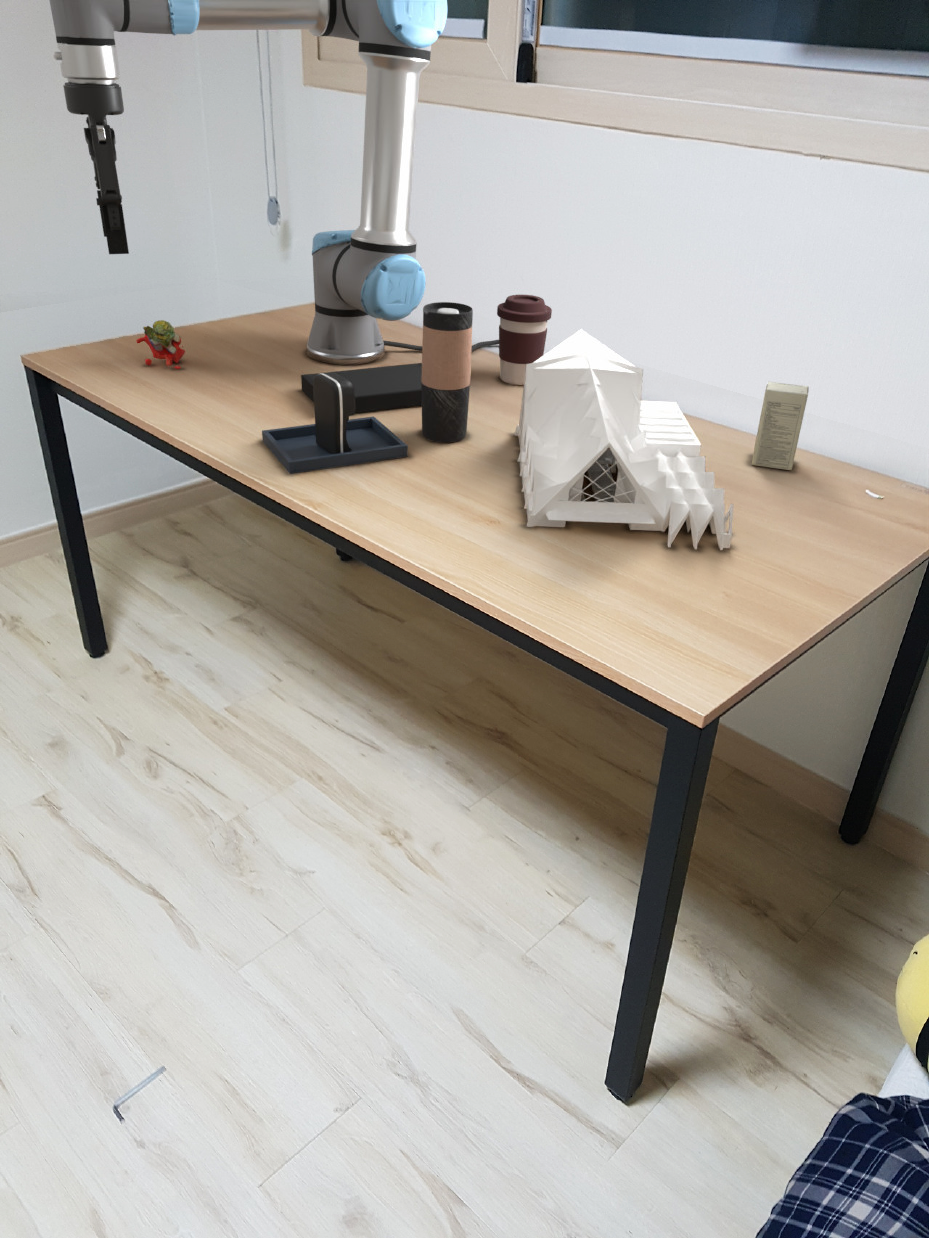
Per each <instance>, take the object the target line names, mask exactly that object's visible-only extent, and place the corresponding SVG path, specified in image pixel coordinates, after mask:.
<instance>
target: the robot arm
mask: <svg viewBox="0 0 929 1238" xmlns="http://www.w3.org/2000/svg"><path fill="white" fill-rule="evenodd" d="M49 5H50V11H51V12H50V13H51V16H52V22H53V28H54V33H55V40H56V43H57V44H56V45H57V49H58V50H59V51H54V52H53V59H55V61H61V62H60V63H59V65H60V70H61V76H62V77H63V78H65V79H67V82H64V85H63V91H64V92H63V93H64V99H65V104H66V109H67V111H68V112H69V113H70V114H73V115H81V116H82V115H83V116H85V115H87V116H86V118H85V123H86V124H87V127H83V133H84V140H85V142H86V144H87V149H88V153H89V154H88V155H89V156H90V160H91V161H92V163H93V171H94V178H93V179H94V181H95V187H96V189H97V190H96V193H97V197H96V205H97V206H99V212H100V218H101V225H102V233H103V237H104V238H106V243H107V249H108V255H128V254H129V255H130V252H129V251H130V250H129V245H128V238H127V237H128V236H127V231H126V223H125V217H124V216H125V215H124V209H123V204H122V201H123V196H122V194H121V188H120V183H119V178H118V170H117V165H116V162H117V159H118V158H117V150H116V143H117V141H116V134H115V129H114V128H113V127H111V126H110V124H108V121H107V116H119V115H123V114H124V112H125V108H124V99H123V92H122V87H121V86H120V84H118V83H117V80H119V79H120V78H121V74H120V66H119V60H118V52H117V46H116V40H115V32H118V33H139V34H140V33H141V34H155V35H156V34H157V35H158V34H159V35H172V36H174V37H175V36H177V35H191V34H193V33H194V32H196V31H272V30H273V31H275V30H277V31H278V30H279V31H281V30H283V31H285V30H291V31H293V30H307V31H308V32H309V33H310V34H311V35H312V36H313V37H331V38H339V39H346V40H349V41H354V42H358V51H357V52H358V53H357V54H358V56H359V57H360V59H361V60H362V62H363V63H364V64H365V67H366V86H365V87H366V88H365V109H364V132H363V153H362V172H361V173H362V176H361V197H360V217H359V218H360V219H359V220H360V221H359V225H358V227H357V228H356V229H346V230H344V229H343V230H342V229H341V230H328V231H320V232H317V233H316V234H314V236H313V237H312V249H311V250H312V251H311V256H312V271H313V272H312V274H313V293H314V295H313V296H314V317H313V321H312V323H311V328H310V331H309V336H308V338H307V342H306V350H307V356H309V358H311V359H313V360H315V361H317V362H322V363H326V364H331V365H332V364H333V365H363V364H368V363H373V362H376V361H379V360H381V359H382V358H383V357H384V356H385V346H387V347H392V348H393V347H394V348H400V349H407V350H412V351H417V352H422V346H421V345H417V344H409V343H404V342H399V341H397V342H396V341H389V340H384V339H383V336H382V332H381V329H380V326H379V323H378V320H383V321H387V322H388V321H389V322H395V321H400V320H403V319H405V318H406V317H408V316H410V315H411V314H412V313H413V311H414V310H416V309H417V308H418V307H419V305H420V304H421V301H422V299H423V297H424V295H425V290H426V274H425V271H424V269H423V267H422V265H421V263H419V261H418V260H416V257H417V243H418V241H417V239H416V238H415V237H414V235H413V234H412V233H411V231H410V221H411V220H410V219H411V207H412V206H411V205H412V194H413V193H412V191H413V177H414V165H415V164H414V163H415V148H416V147H415V146H416V133H417V119H418V105H419V91H420V77H421V73H422V71H423V70H425V69H426V68H427V67H428V66H429V65H430V64H431V52H432V45H433V44H434V43H435V42H436V41H438V38H439V36H440V35H442V34H443V31H444V29H445V27H446V24H447V19H448V0H49ZM497 345H499V339H494V340H486V341H480V342H479V341H478V342H476V343H474V344H472V347H471V353H472V352H474V351H476V350H477V349H479V348H482V347H488V346H497Z"/></svg>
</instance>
